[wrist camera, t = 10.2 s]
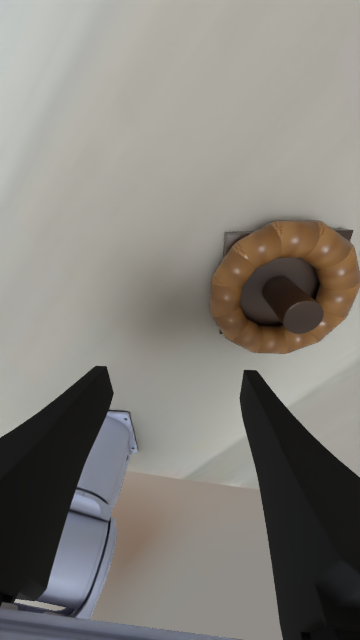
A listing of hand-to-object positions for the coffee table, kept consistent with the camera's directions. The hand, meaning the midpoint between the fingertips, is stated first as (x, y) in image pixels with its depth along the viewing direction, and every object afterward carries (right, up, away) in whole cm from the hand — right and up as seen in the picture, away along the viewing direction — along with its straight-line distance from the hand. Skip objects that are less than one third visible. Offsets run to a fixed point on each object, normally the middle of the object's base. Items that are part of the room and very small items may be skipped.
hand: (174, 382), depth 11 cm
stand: (+9, +6, +8) cm, 13 cm away
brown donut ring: (+8, +5, +5) cm, 11 cm away
